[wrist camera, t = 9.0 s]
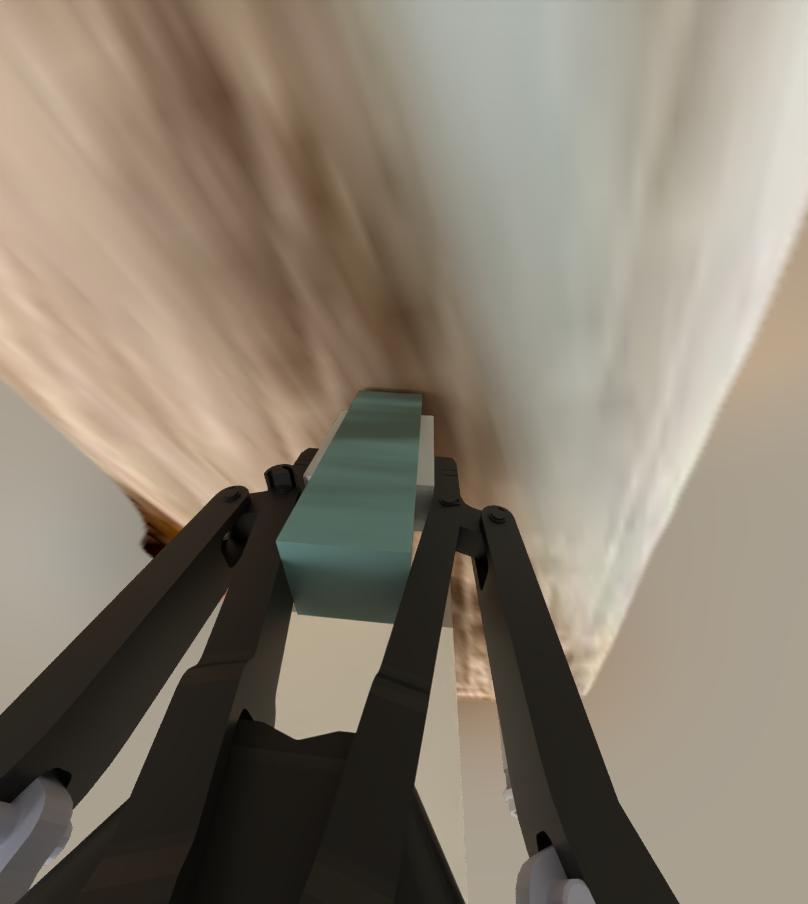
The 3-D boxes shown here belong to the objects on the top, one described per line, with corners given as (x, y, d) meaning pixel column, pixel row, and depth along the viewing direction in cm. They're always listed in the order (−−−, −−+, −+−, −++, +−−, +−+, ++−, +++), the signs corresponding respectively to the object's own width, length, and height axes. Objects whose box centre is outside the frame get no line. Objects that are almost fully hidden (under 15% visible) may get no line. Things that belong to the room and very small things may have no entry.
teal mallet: (359, 390, 19) (275, 540, 9) (422, 394, 19) (411, 553, 9) (368, 581, 30) (336, 745, 20) (408, 584, 29) (396, 752, 19)
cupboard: (306, 559, 30) (103, 1044, 11) (454, 573, 29) (492, 1112, 11) (319, 617, 36) (199, 997, 17) (442, 629, 35) (454, 1039, 17)
